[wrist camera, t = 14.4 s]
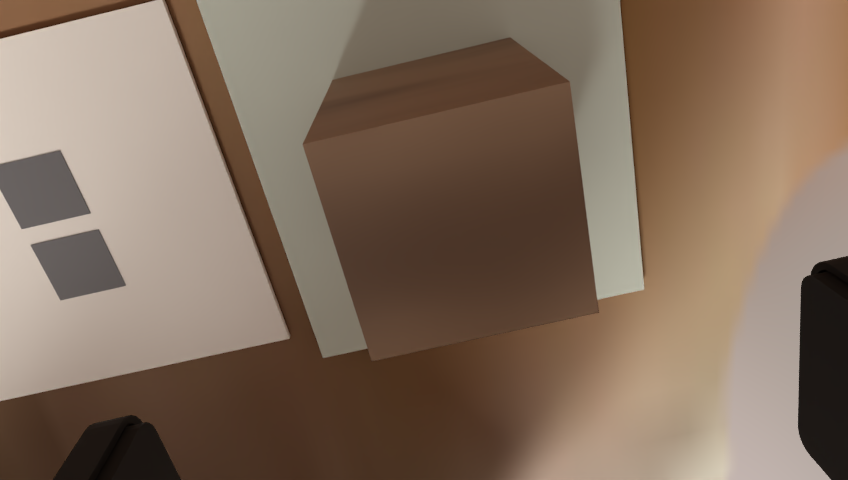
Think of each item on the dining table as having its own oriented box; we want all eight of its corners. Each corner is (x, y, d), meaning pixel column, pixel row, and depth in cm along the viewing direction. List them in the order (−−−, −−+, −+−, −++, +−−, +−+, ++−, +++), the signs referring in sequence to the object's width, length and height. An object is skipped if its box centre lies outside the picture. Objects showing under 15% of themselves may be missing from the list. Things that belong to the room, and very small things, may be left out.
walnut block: (536, 203, 21) (599, 312, 15) (378, 239, 21) (371, 361, 15) (510, 37, 19) (569, 81, 12) (332, 79, 19) (302, 144, 13)
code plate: (290, 335, 23) (289, 339, 23) (-14, 401, 24) (-18, 405, 24) (164, -2, 18) (161, -2, 18) (-216, 92, 19) (-223, 94, 19)
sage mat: (640, 284, 23) (644, 289, 23) (324, 351, 24) (322, 358, 23) (602, -152, 17) (606, -154, 17) (184, -47, 18) (179, -47, 17)
